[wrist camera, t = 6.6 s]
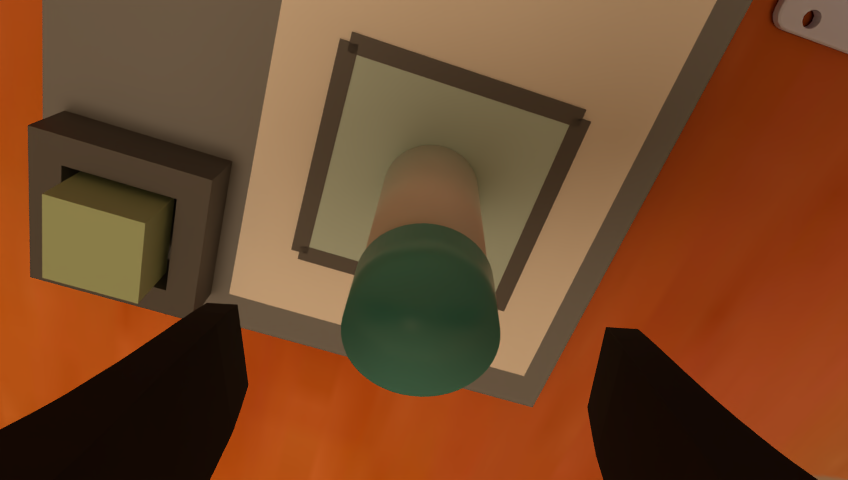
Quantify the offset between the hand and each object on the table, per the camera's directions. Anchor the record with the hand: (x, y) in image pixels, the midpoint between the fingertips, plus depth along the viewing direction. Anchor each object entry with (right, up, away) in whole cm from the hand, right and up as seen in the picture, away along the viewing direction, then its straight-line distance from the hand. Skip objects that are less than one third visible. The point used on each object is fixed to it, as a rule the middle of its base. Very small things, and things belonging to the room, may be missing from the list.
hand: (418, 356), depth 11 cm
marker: (0, +4, +8) cm, 9 cm away
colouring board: (-2, +6, +8) cm, 10 cm away
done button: (-10, +3, +8) cm, 13 cm away
